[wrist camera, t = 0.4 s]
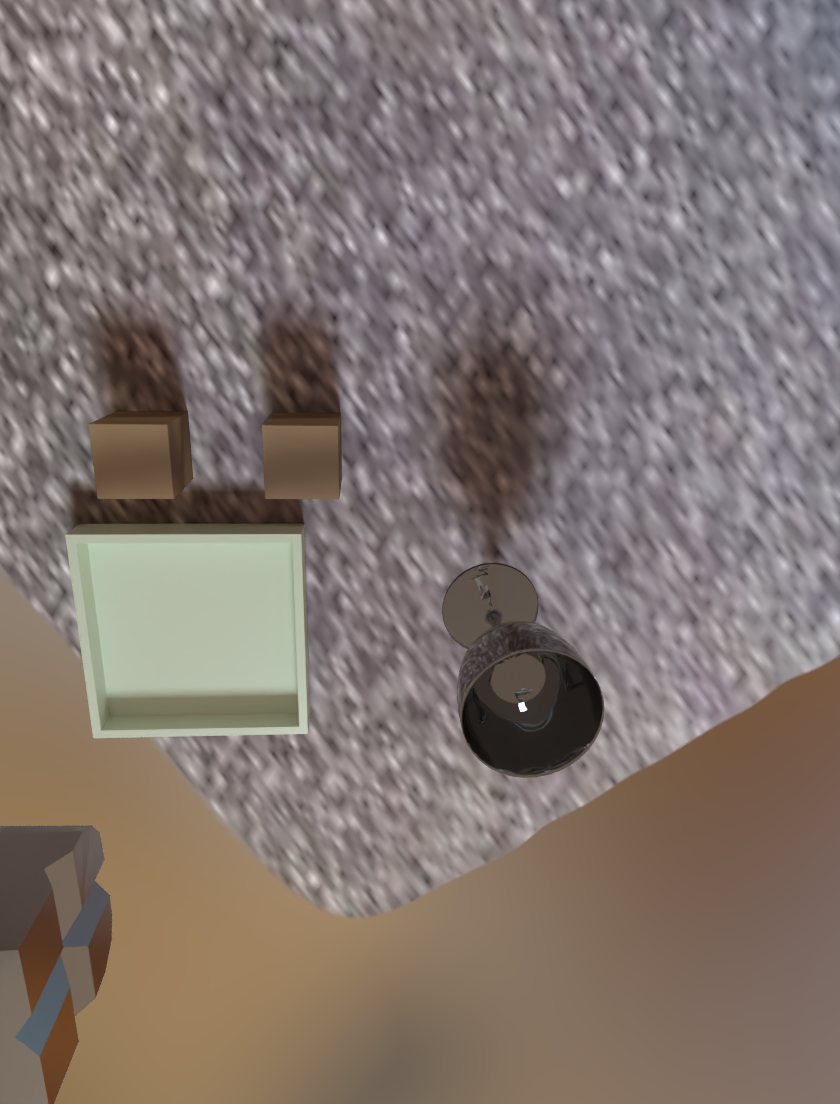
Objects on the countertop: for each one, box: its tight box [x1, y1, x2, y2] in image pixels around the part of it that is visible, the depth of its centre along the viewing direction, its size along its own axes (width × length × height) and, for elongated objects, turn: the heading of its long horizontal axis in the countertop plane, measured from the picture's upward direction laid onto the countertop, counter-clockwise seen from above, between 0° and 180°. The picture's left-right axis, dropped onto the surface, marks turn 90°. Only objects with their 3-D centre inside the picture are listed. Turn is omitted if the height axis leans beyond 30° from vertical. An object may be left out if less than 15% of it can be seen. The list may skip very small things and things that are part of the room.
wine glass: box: [442, 564, 604, 778], centre depth 48 cm, size 8×8×15 cm
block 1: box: [89, 411, 193, 499], centre depth 47 cm, size 4×4×6 cm
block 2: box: [262, 412, 342, 499], centre depth 48 cm, size 4×4×6 cm
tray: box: [65, 524, 310, 738], centre depth 53 cm, size 15×15×2 cm
